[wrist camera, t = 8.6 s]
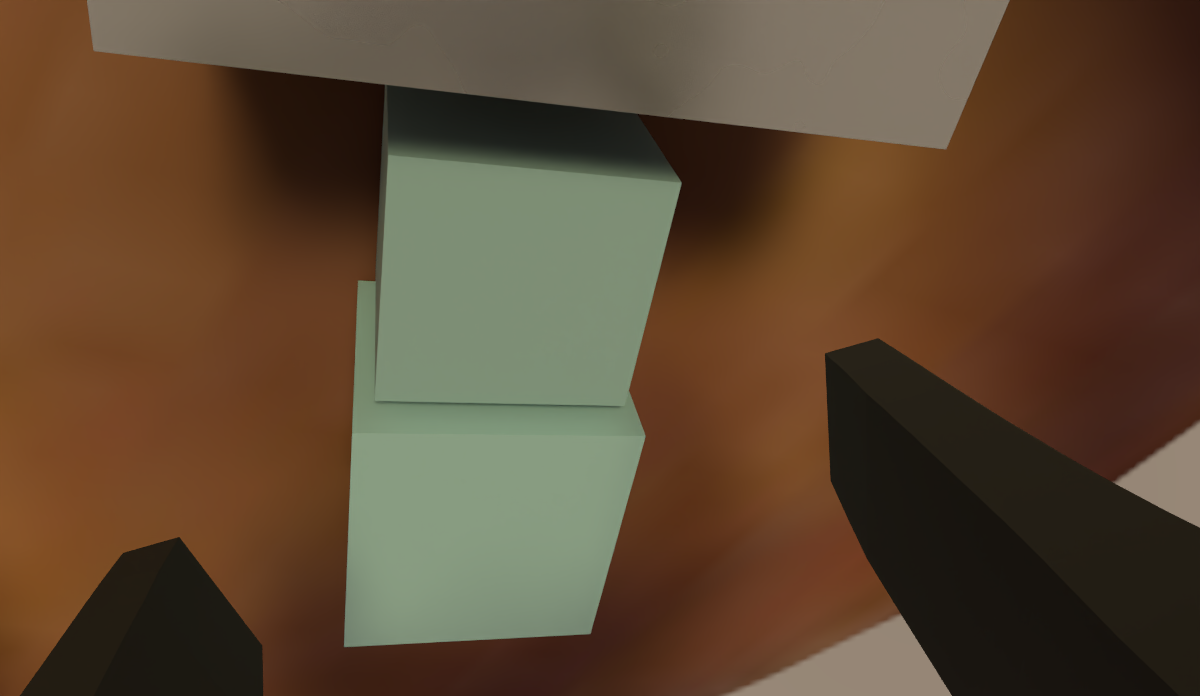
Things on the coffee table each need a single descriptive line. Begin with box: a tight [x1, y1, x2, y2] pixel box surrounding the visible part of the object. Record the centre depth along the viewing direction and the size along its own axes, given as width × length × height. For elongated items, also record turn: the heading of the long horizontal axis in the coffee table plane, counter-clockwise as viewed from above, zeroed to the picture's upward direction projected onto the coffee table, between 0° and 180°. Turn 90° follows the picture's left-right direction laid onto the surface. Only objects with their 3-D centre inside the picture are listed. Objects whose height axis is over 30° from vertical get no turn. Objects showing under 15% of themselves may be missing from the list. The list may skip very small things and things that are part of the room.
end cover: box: [344, 85, 682, 647], centre depth 18 cm, size 5×10×5 cm, turn 169°
